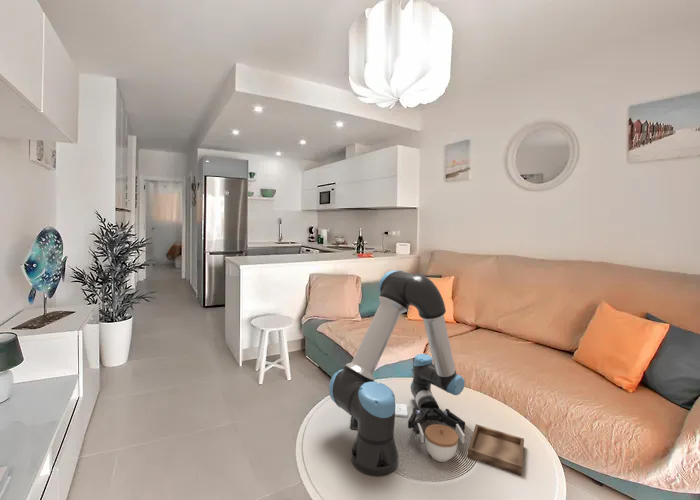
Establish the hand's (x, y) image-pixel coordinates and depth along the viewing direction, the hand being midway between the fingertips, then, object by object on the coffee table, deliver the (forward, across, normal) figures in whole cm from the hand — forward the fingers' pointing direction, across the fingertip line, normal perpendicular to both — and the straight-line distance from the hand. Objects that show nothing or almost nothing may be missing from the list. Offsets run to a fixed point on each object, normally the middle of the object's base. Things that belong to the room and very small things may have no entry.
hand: (443, 439), depth 112 cm
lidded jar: (0, +1, -6) cm, 6 cm away
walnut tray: (-2, -19, -6) cm, 20 cm away
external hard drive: (-27, +13, -6) cm, 30 cm away
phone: (-21, +26, -6) cm, 34 cm away
